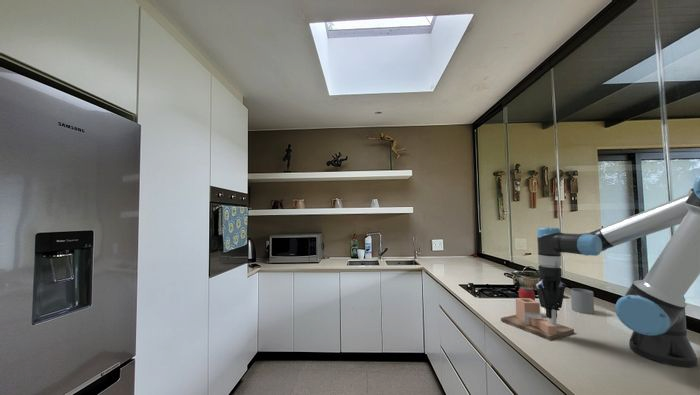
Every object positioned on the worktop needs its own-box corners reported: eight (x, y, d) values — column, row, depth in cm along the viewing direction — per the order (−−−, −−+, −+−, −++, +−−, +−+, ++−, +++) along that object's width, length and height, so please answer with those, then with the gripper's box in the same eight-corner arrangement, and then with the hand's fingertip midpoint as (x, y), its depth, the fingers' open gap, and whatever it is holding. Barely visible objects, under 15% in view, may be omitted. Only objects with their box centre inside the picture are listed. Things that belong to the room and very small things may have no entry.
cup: (568, 309, 137) (567, 289, 137) (577, 307, 140) (576, 287, 141) (588, 315, 129) (587, 293, 130) (597, 312, 132) (596, 291, 133)
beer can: (530, 311, 134) (529, 286, 135) (538, 315, 128) (537, 289, 129) (516, 310, 135) (515, 285, 136) (523, 315, 128) (522, 289, 129)
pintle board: (574, 333, 109) (573, 313, 110) (549, 340, 103) (548, 319, 103) (524, 316, 128) (524, 299, 128) (500, 321, 121) (500, 303, 122)
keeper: (525, 327, 115) (524, 311, 115) (540, 329, 113) (539, 313, 113) (526, 330, 112) (525, 313, 112) (542, 332, 110) (541, 315, 110)
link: (516, 316, 123) (515, 298, 123) (530, 316, 123) (530, 298, 123) (543, 334, 105) (543, 312, 105) (561, 334, 105) (560, 312, 105)
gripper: (554, 263, 115) (557, 321, 113) (527, 264, 112) (529, 323, 111) (572, 267, 107) (574, 329, 106) (543, 268, 105) (546, 331, 104)
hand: (551, 326), depth 108 cm, fingers closed
